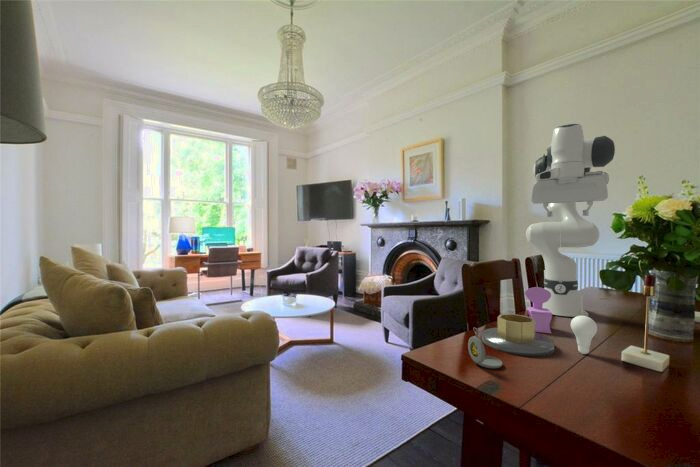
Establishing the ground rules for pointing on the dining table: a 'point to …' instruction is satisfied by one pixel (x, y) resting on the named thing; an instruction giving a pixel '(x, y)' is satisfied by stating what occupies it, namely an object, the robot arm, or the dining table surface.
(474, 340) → the pocket watch
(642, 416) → the dining table surface
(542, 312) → the toy chair
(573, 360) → the dining table surface
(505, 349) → the lamp base
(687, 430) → the dining table surface
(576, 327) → the lightbulb
